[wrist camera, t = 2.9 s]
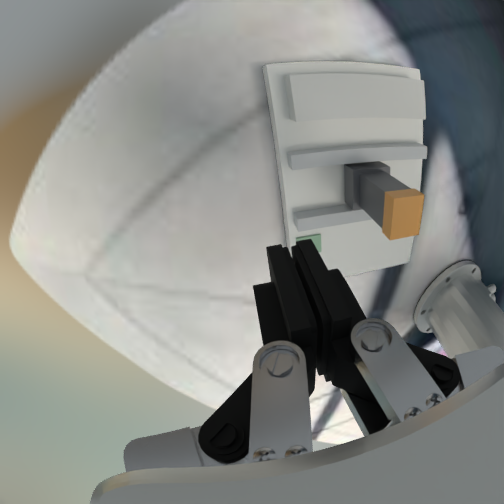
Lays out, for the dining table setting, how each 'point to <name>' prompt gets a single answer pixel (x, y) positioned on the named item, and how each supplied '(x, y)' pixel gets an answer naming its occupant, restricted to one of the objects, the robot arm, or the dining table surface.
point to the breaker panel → (343, 152)
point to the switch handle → (383, 198)
